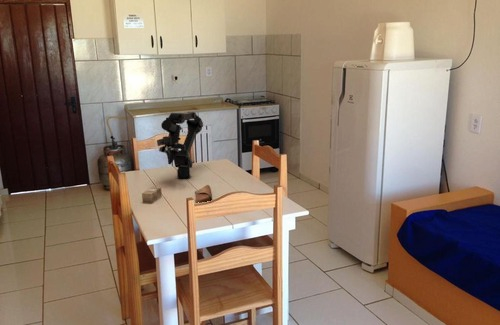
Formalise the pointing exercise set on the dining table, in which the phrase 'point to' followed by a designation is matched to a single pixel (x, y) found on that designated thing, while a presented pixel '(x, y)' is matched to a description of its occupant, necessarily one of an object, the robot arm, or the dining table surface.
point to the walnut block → (151, 195)
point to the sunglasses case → (203, 194)
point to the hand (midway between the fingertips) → (169, 164)
